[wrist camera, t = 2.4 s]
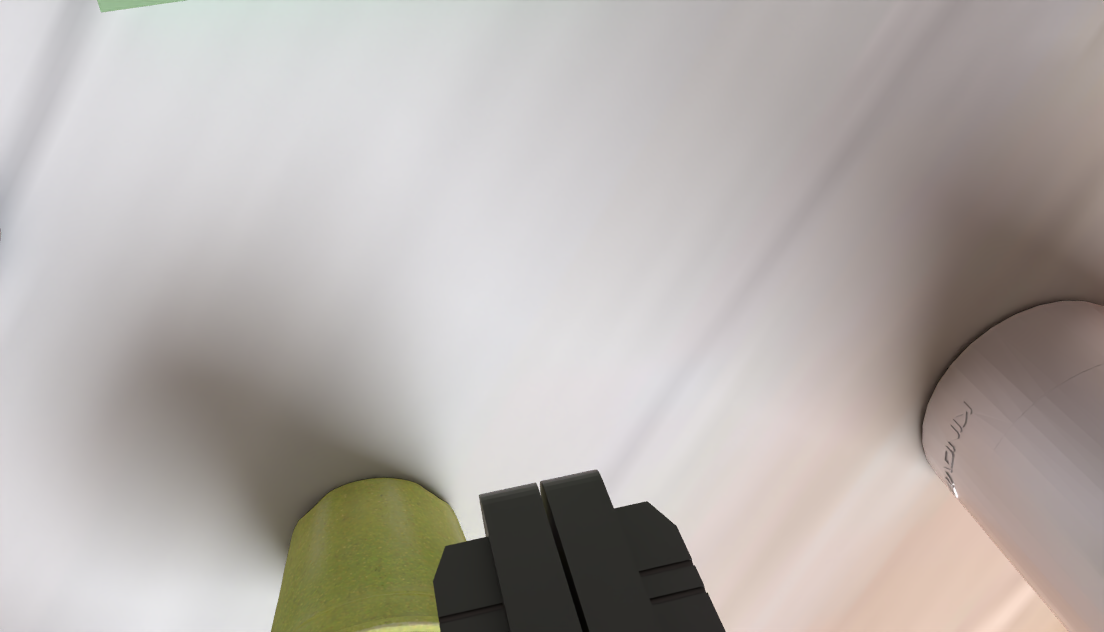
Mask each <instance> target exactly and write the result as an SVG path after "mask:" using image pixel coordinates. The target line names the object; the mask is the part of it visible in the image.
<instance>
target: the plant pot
mask: <svg viewBox="0 0 1104 632" xmlns="http://www.w3.org/2000/svg"><path fill="white" fill-rule="evenodd" d="M461 542H466V539H465V536H464V534H463V531H462V529H461V526H460V524H459V522H458V519H457V517H456V515H455V513H454V511H453V510H452V508H451V507H450V506H449V505H448V503H446V502H444V501H442V500H441V499H439V498H438V497H436V496H435V495H433V494H432V493H430V492H429V491H427V490H426V489H424V488H423V487H422V486H420V485H419V484H417V483H414V482H411V481H407V480H403V479H395V478H373V479H365V480H360V481H356V482H352V483H349V484H346V485H344V486H341V487H338V488H336V489H334V490H332V491H331V492H329V493H328V494H327V495H325V496H324V497H323V498H322V499H321V500H320V501H319V502H318V503H317V504H316V505H315V506H314V507H313V508H312V509H311V510H310V511H309V512H308V513H307V514H306V515H305V516H303V517H302V518H301V519H300V520H299V521H298V523H297V525H296V527H295V529H294V531H293V534H292V538H291V542H290V547H289V551H288V556H287V560H286V564H285V569H284V574H283V580H282V585H281V590H280V594H279V598H278V603H277V607H276V612H275V616H274V620H273V625H272V629H271V632H440V626H439V619H438V612H437V606H436V599H435V593H434V586H433V579H434V576H435V574H436V571H437V568H438V565H439V562H440V559H441V557H442V554H443V551H444V548H445V546H447V545H452V544H457V543H461Z"/></svg>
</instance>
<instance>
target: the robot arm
mask: <svg viewBox="0 0 1104 632" xmlns="http://www.w3.org/2000/svg"><path fill="white" fill-rule="evenodd" d="M922 444H923V447H924V451H925V454H926V458H927V461H928V462H929V464H930V465H931V467H932V468H933V470H934V471H935V473H936V474H937V475H938V476H939V478H940V479H941V480H942V481H943V482H944V483H945V485H946V486H947V487H948V488H949V490H950V491H951V492H952V494H953V495H954V496H955V497H956V498H957V499H958V500H959V501H960V503H961V504H962V505H963V506H964V507H965V508H966V510H967V511H968V512H969V513H970V514H971V516H972V517H973V518H974V519H975V520H976V522H977V523H978V524H979V525H980V526H981V527H982V529H983V530H984V531H985V532H986V534H987V535H988V536H989V537H990V539H991V540H992V541H993V542H994V544H995V545H996V546H997V547H998V548H999V549H1000V551H1001V552H1002V553H1003V554H1004V555H1005V557H1006V558H1007V559H1008V560H1009V561H1010V562H1011V564H1012V565H1013V566H1014V567H1015V568H1016V570H1017V571H1018V572H1019V573H1020V574H1021V576H1022V577H1023V578H1024V579H1025V580H1026V581H1027V583H1028V584H1029V585H1030V586H1031V587H1032V589H1033V590H1034V591H1035V592H1036V593H1037V595H1038V596H1039V597H1040V598H1041V599H1042V600H1043V602H1044V603H1045V604H1046V605H1047V606H1048V608H1049V609H1050V610H1051V611H1052V612H1053V613H1054V615H1055V616H1056V617H1057V618H1058V619H1059V621H1060V622H1061V623H1062V624H1063V625H1064V627H1065V628H1066V629H1067V630H1068V631H1069V632H1104V306H1102V305H1098V304H1094V303H1090V302H1086V301H1059V302H1054V303H1049V304H1043V305H1039V306H1036V307H1033V308H1031V309H1028V310H1025V311H1023V312H1020V313H1018V314H1015V315H1013V316H1011V317H1010V318H1008V319H1006V320H1004V321H1003V322H1001V323H999V324H997V325H995V326H994V327H992V328H991V329H989V330H988V331H987V332H985V333H984V334H983V335H982V336H980V337H979V338H978V339H976V340H975V341H974V342H973V343H971V344H970V345H969V346H968V347H967V348H966V349H965V350H964V351H963V352H962V353H961V354H960V355H959V356H958V358H957V359H956V360H955V361H954V362H953V363H952V364H951V365H950V367H949V368H948V370H947V371H946V372H945V374H944V375H943V377H942V378H941V380H940V381H939V382H938V384H937V386H936V388H935V390H934V392H933V394H932V397H931V399H930V401H929V403H928V405H927V409H926V413H925V417H924V421H923V438H922ZM540 492H541V495H540ZM540 492H539V489H538V486H537V484H536V483H532V484H527V485H522V486H518V487H513V488H508V489H504V490H499V491H494V492H490V493H485V494H480V495H479V499H480V505H481V511H482V517H483V522H484V528H485V534H486V537H484V538H479V539H475V540H470V541H466V542H461V543H457V544H452V545H447V546H445V548H444V551H443V554H442V557H441V559H440V562H439V565H438V568H437V571H436V574H435V576H434V579H433V586H434V593H435V599H436V606H437V612H438V619H439V626H440V632H726V631H725V629H724V627H723V625H722V623H721V621H720V619H719V616H718V614H717V612H716V610H715V608H714V606H713V604H712V601H711V599H710V597H709V595H708V593H706V592H705V588H704V584H703V582H702V580H701V578H700V576H699V573H698V571H697V569H696V567H695V565H694V566H693V563H692V558H691V556H690V554H689V552H688V550H687V548H686V545H685V543H684V541H683V539H682V537H681V535H680V532H679V530H678V528H677V526H676V525H675V524H673V523H672V522H671V521H670V520H669V519H668V518H666V517H665V516H664V515H663V514H662V513H660V512H659V511H658V510H657V509H656V508H655V507H653V506H652V505H651V504H650V503H649V502H647V501H646V502H642V503H637V504H633V505H628V506H624V507H619V508H613V505H612V503H611V500H610V498H609V495H608V493H607V490H606V488H605V485H604V482H603V480H602V478H601V475H600V473H599V472H598V470H591V471H586V472H582V473H577V474H572V475H568V476H563V477H558V478H554V479H549V480H544V481H541V482H540Z"/></svg>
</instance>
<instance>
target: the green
mask: <svg viewBox="0 0 1104 632" xmlns="http://www.w3.org/2000/svg"><path fill="white" fill-rule="evenodd" d="M97 1H98V4H99V7H100V10H101V12H108V11H115V10H122V9H129V8H136V7H143V6H150V5H157V4H164V3H171V2H178V1H185V0H97Z"/></svg>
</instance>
